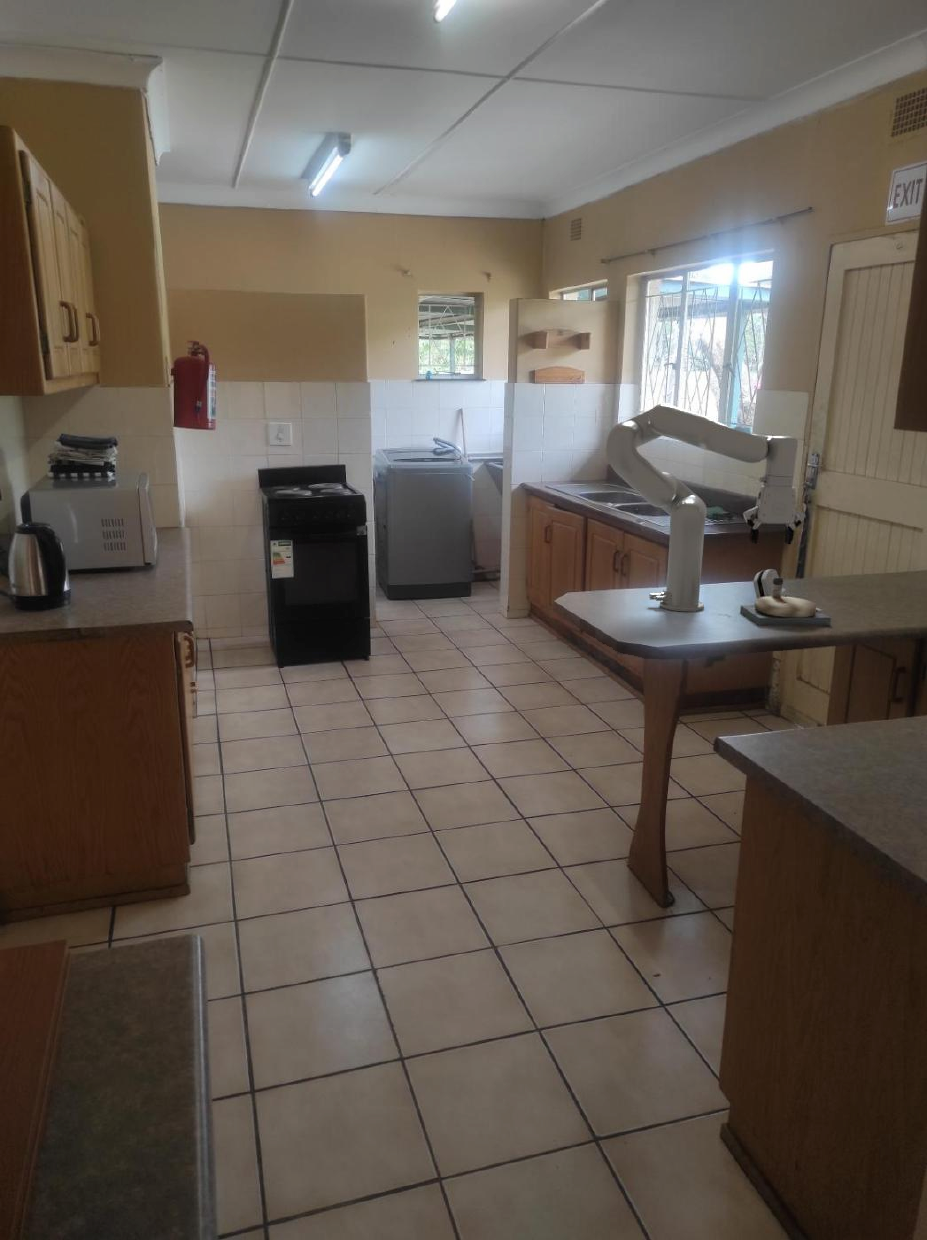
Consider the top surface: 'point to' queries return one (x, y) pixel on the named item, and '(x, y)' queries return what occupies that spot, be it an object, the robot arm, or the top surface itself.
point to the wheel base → (783, 618)
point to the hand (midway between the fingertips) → (770, 543)
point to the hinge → (766, 583)
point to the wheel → (784, 603)
